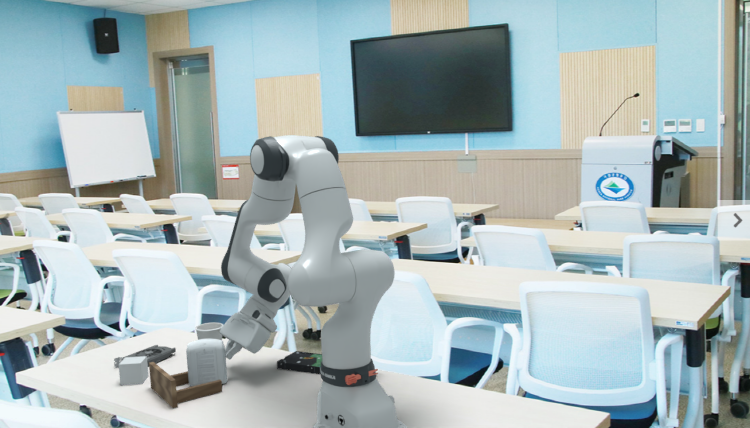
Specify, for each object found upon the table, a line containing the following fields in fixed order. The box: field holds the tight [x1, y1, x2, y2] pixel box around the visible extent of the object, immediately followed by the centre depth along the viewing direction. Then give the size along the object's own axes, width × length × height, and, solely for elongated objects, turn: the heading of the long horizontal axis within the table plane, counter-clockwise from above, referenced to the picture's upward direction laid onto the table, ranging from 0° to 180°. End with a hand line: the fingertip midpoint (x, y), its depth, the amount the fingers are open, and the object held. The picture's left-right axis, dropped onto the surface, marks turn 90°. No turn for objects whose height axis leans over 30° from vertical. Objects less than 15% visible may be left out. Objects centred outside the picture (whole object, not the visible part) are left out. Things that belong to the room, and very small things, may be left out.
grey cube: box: [118, 356, 149, 386], centre depth 185 cm, size 6×6×6 cm
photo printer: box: [185, 339, 228, 387], centre depth 180 cm, size 10×4×12 cm, turn 97°
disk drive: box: [276, 350, 322, 376], centre depth 192 cm, size 10×3×15 cm
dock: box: [148, 362, 223, 409], centre depth 175 cm, size 18×14×7 cm
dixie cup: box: [195, 322, 224, 341], centre depth 202 cm, size 8×8×10 cm
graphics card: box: [113, 344, 177, 369], centre depth 201 cm, size 17×4×12 cm
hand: (225, 357), depth 182 cm, fingers closed
